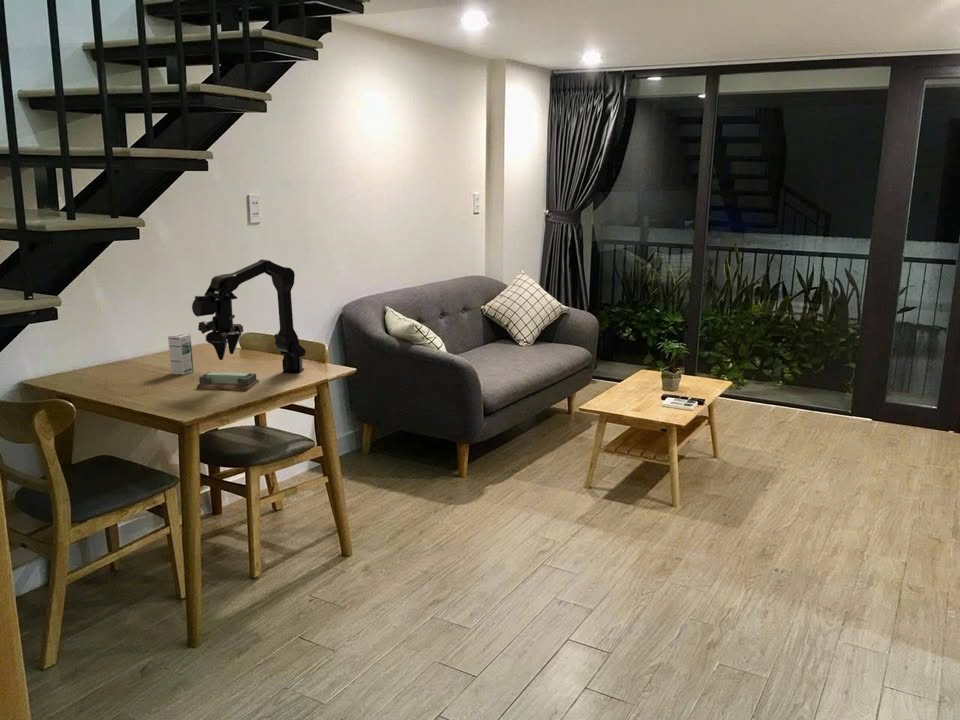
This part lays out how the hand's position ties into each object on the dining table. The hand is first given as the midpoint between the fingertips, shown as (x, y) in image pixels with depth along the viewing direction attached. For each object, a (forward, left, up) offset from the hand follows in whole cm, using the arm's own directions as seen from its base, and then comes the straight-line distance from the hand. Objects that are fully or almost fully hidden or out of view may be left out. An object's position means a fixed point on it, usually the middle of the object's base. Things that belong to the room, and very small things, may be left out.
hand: (226, 356), depth 281 cm
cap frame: (0, 0, -10) cm, 10 cm away
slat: (0, 0, -9) cm, 9 cm away
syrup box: (+24, -15, -11) cm, 30 cm away
